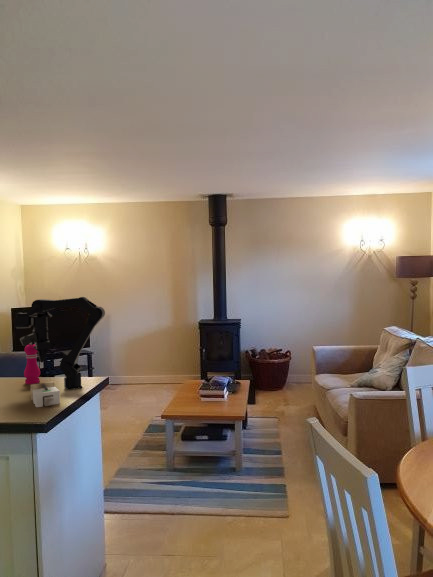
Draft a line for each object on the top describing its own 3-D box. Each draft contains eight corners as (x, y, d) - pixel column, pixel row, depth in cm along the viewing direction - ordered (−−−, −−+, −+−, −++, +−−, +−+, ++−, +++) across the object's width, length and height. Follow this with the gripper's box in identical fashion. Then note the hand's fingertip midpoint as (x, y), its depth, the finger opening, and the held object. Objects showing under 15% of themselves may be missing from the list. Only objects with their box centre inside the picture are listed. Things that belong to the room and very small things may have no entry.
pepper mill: (44, 381, 203) (42, 340, 203) (32, 385, 196) (31, 342, 196) (32, 380, 205) (30, 339, 205) (20, 384, 199) (19, 341, 198)
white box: (54, 395, 176) (53, 381, 176) (62, 404, 163) (61, 389, 163) (31, 399, 171) (30, 384, 171) (37, 408, 158) (36, 392, 158)
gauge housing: (55, 398, 172) (55, 386, 172) (59, 403, 165) (59, 390, 165) (33, 402, 168) (32, 389, 167) (36, 407, 161) (35, 394, 161)
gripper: (18, 327, 191) (19, 361, 192) (23, 331, 175) (25, 368, 176) (44, 325, 197) (45, 358, 197) (52, 328, 181) (53, 364, 182)
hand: (41, 362), depth 188 cm, fingers closed
